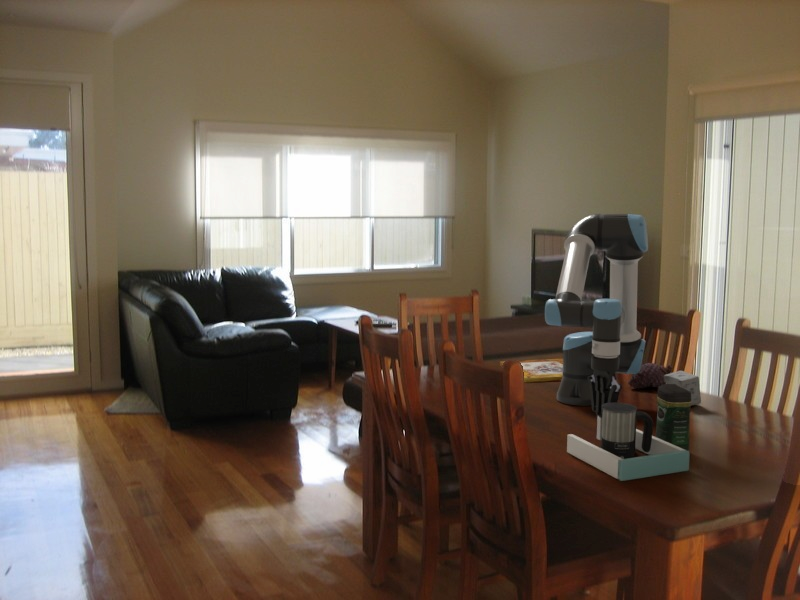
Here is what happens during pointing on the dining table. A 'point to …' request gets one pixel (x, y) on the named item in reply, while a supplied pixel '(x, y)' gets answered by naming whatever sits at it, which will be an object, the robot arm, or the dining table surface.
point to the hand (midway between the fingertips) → (602, 438)
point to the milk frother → (624, 429)
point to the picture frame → (542, 370)
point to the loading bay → (656, 463)
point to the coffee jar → (673, 415)
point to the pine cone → (650, 376)
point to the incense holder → (686, 384)
